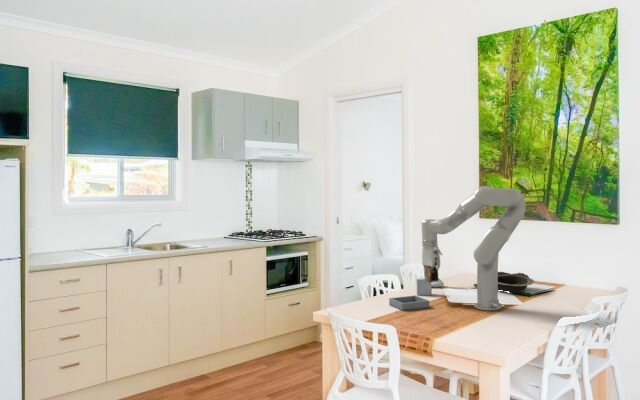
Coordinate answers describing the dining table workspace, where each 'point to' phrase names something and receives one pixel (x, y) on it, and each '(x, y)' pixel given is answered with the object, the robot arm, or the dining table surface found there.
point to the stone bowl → (513, 282)
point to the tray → (409, 303)
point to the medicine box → (423, 287)
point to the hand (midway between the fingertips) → (431, 279)
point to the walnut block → (429, 274)
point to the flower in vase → (438, 283)
